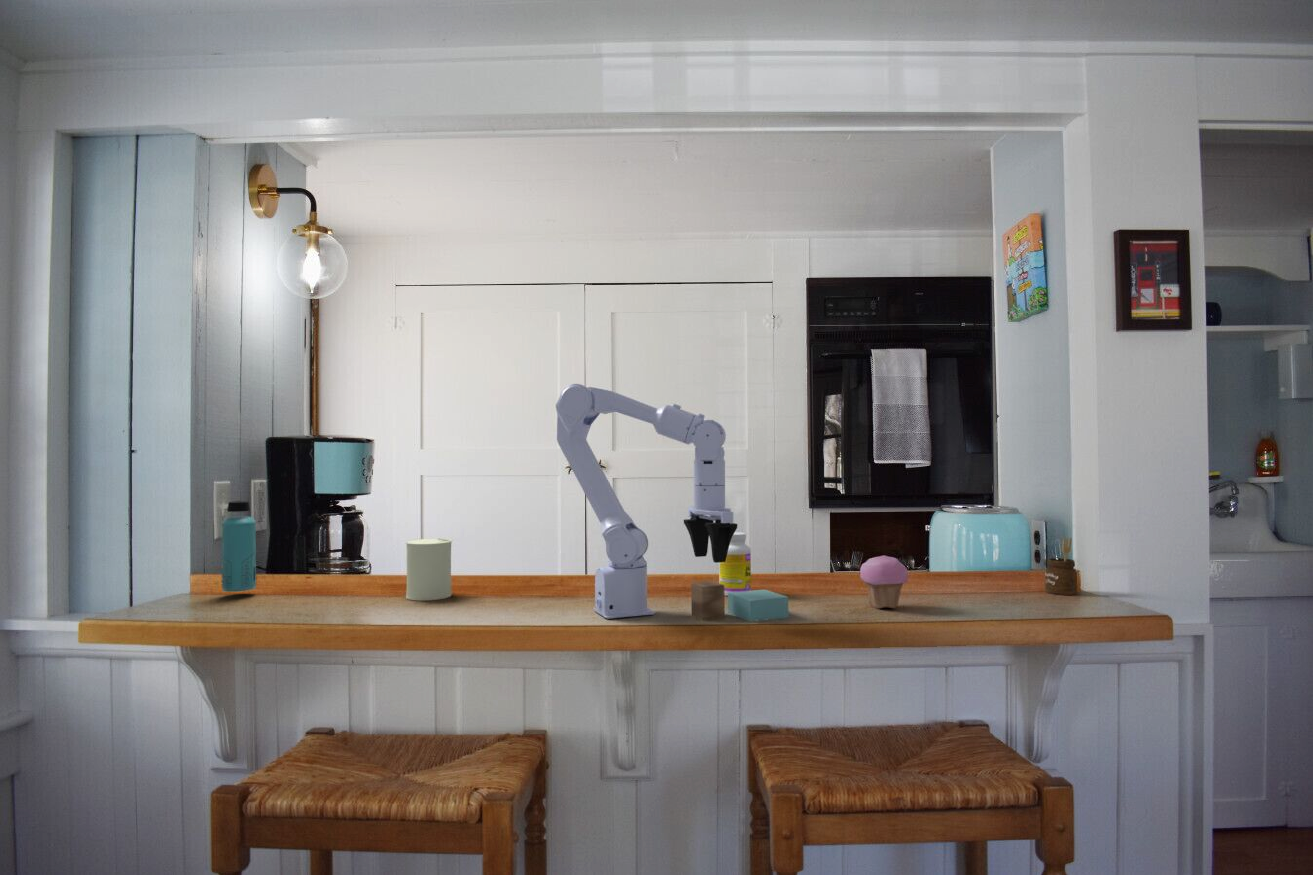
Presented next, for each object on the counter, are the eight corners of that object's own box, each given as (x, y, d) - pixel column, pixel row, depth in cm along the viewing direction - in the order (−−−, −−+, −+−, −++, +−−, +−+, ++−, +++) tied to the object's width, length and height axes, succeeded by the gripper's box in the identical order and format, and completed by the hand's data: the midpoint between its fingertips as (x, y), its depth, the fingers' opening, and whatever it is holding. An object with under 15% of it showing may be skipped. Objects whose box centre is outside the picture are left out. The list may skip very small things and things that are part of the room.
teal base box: (750, 623, 130) (750, 600, 130) (728, 614, 137) (728, 592, 137) (788, 618, 133) (788, 596, 133) (764, 610, 140) (764, 589, 141)
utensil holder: (1069, 590, 158) (1068, 534, 158) (1083, 596, 152) (1082, 538, 152) (1040, 590, 158) (1039, 534, 159) (1053, 595, 152) (1052, 537, 152)
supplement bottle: (749, 597, 151) (749, 535, 151) (717, 596, 152) (717, 534, 152) (751, 591, 158) (751, 531, 158) (721, 590, 159) (720, 531, 159)
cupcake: (902, 603, 145) (901, 552, 145) (913, 613, 136) (913, 559, 137) (856, 602, 146) (855, 552, 146) (864, 612, 137) (864, 558, 137)
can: (455, 598, 151) (455, 540, 152) (409, 602, 147) (409, 542, 148) (447, 590, 160) (447, 535, 160) (403, 594, 156) (403, 537, 156)
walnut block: (702, 620, 131) (702, 586, 131) (691, 615, 135) (691, 582, 135) (724, 618, 133) (724, 584, 133) (713, 613, 137) (713, 580, 137)
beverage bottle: (259, 596, 154) (259, 500, 154) (222, 600, 150) (223, 502, 150) (254, 591, 159) (254, 499, 159) (218, 595, 155) (219, 500, 155)
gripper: (748, 486, 130) (748, 563, 130) (711, 483, 143) (711, 552, 143) (712, 487, 127) (713, 565, 127) (678, 483, 141) (678, 554, 140)
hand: (709, 559), depth 135 cm, fingers open, 7 cm apart
